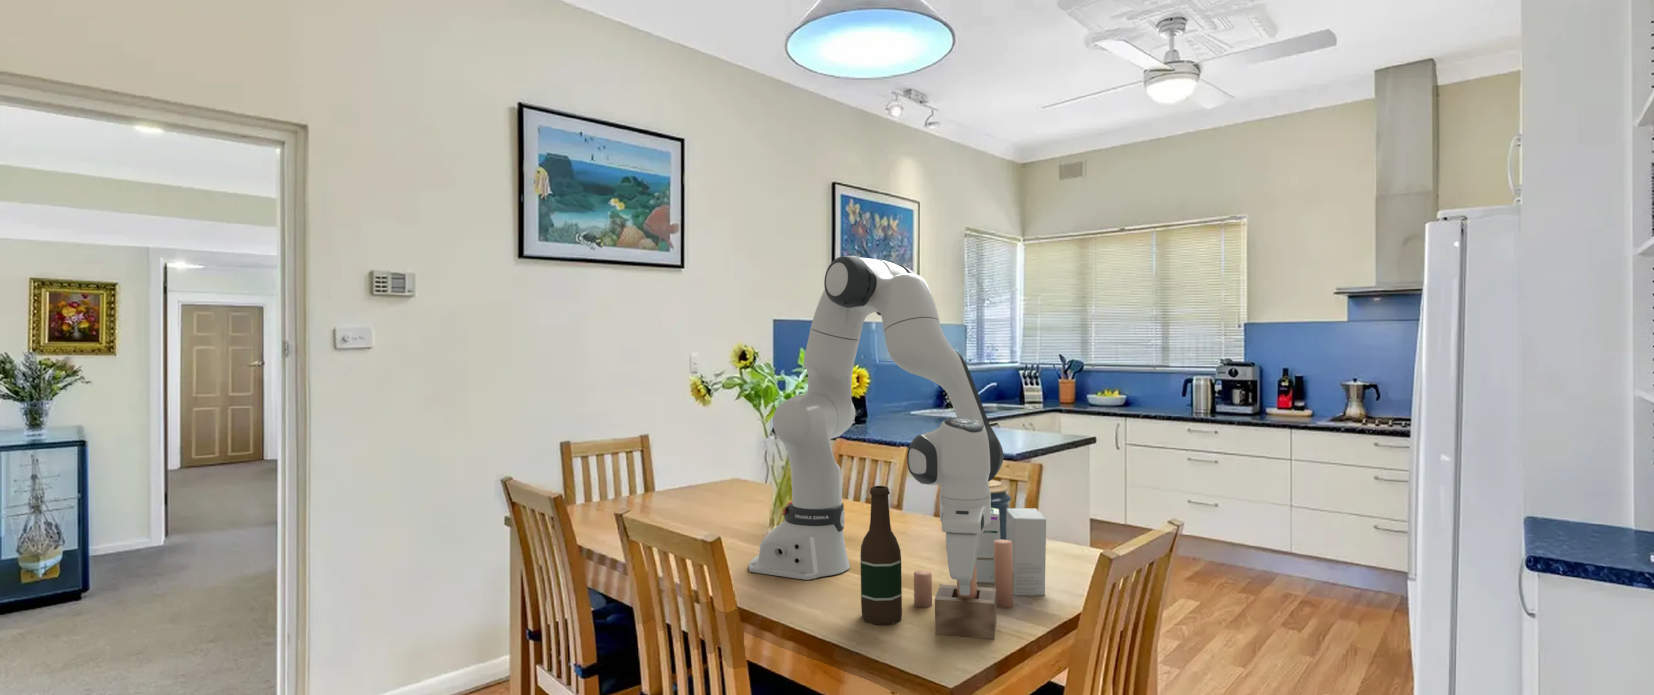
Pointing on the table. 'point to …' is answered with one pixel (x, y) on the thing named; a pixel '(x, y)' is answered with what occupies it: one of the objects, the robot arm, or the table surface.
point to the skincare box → (1027, 550)
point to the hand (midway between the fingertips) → (966, 589)
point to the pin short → (922, 588)
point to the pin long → (1003, 573)
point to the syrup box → (988, 549)
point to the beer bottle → (880, 565)
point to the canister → (1000, 503)
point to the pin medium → (972, 587)
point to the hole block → (965, 613)
